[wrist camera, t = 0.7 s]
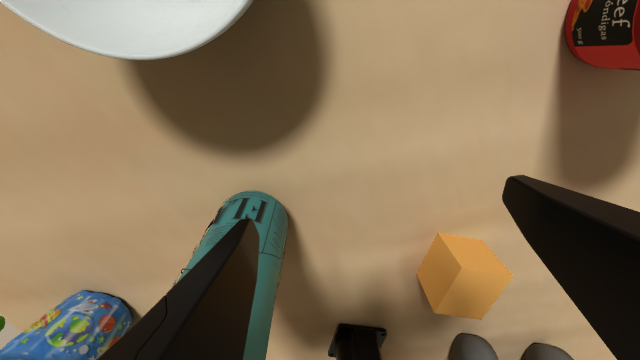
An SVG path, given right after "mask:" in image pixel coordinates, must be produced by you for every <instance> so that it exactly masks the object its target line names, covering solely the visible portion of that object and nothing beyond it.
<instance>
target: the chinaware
mask: <svg viewBox="0 0 640 360" xmlns="http://www.w3.org/2000/svg"><path fill="white" fill-rule="evenodd" d="M253 1H254V0H0V3H2V4H3V5H4V6H6V7H7V8H8V9H10V10H11V11H12V12H14V13H15V14H17V15H18V16H19V17H21V18H22V19H24V20H25V21H27V22H29V23H30V24H32V25H33V26H35V27H37V28H38V29H40V30H42V31H44V32H45V33H47V34H49V35H51V36H53V37H55V38H57V39H59V40H61V41H63V42H65V43H68V44H70V45H72V46H75V47H78V48H80V49H83V50H86V51H89V52H92V53H96V54H99V55H103V56H108V57H113V58H119V59H127V60H157V59H164V58H170V57H174V56H178V55H181V54H185V53H188V52H190V51H193V50H195V49H197V48H200V47H202V46H204V45H205V44H207V43H209V42H211V41H212V40H214V39H216V38H217V37H219V36H220V35H221V34H223V33H224V32H225V31H227V30H228V29H229V28H230V27H231V26H232V25H233V24H234V23H236V22H237V21H238V20H239V18H240V17H241V16H242V15H243V14H244V13H245V12H246V10H247V9H248V8H249V6H250V5H251V4H252V2H253Z"/></svg>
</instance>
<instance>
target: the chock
mask: <svg viewBox="0 0 640 360" xmlns="http://www.w3.org/2000/svg"><path fill="white" fill-rule="evenodd" d="M417 276H418V279H419V281H420V283H421V285H422V287H423V290H424V292H425V294H426V296H427V298H428V301H429V303H430V305H431V307H432V309H433V312H434V313H437V314H444V315H451V316H458V317H466V318H473V319H480V320H481V319H482V318H483V317H484V315H485V314H486V313H487V311H488V310H489V309H490V307H491V306H492V305H493V303H494V302H495V301H496V299H497V298H498V297H499V295H500V294H501V293H502V291H503V290H504V289H505V287H506V286H507V285H508V283H509V282H510V281H511V279H512V278H513V275H512V274H511V273H510V272H509V270H508V269H507V268H506V267H505V266H504V265H503V264H502V263H501V261H500V260H499V259H498V258H497V257H496V256H495V255H494V254H493V252H492V251H491V250H490V249H489V248H488V247H487V246H486V244H485V243H484V242H483V241H482V240H477V239H472V238H466V237H460V236H454V235H448V234H443V233H438V234H437V236H436V238H435V239H434V241H433V243H432V245H431V247H430V249H429V251H428V253H427V255H426V257H425V259H424V261H423V263H422V265H421V267H420V268H419V270H418V272H417Z"/></svg>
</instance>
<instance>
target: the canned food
mask: <svg viewBox="0 0 640 360" xmlns="http://www.w3.org/2000/svg"><path fill="white" fill-rule="evenodd" d="M565 30H566V39H567V43H568V46H569V48H570V50H571V51H572V53H573V54H574V55H575V56H576V57H577V58H578V59H580V60H582V61H583V62H585V63H587V64H590V65H592V66H595V67H599V68H607V69H625V70H640V0H572V1H571V3H570V6H569V10H568V13H567V18H566V24H565Z"/></svg>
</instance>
